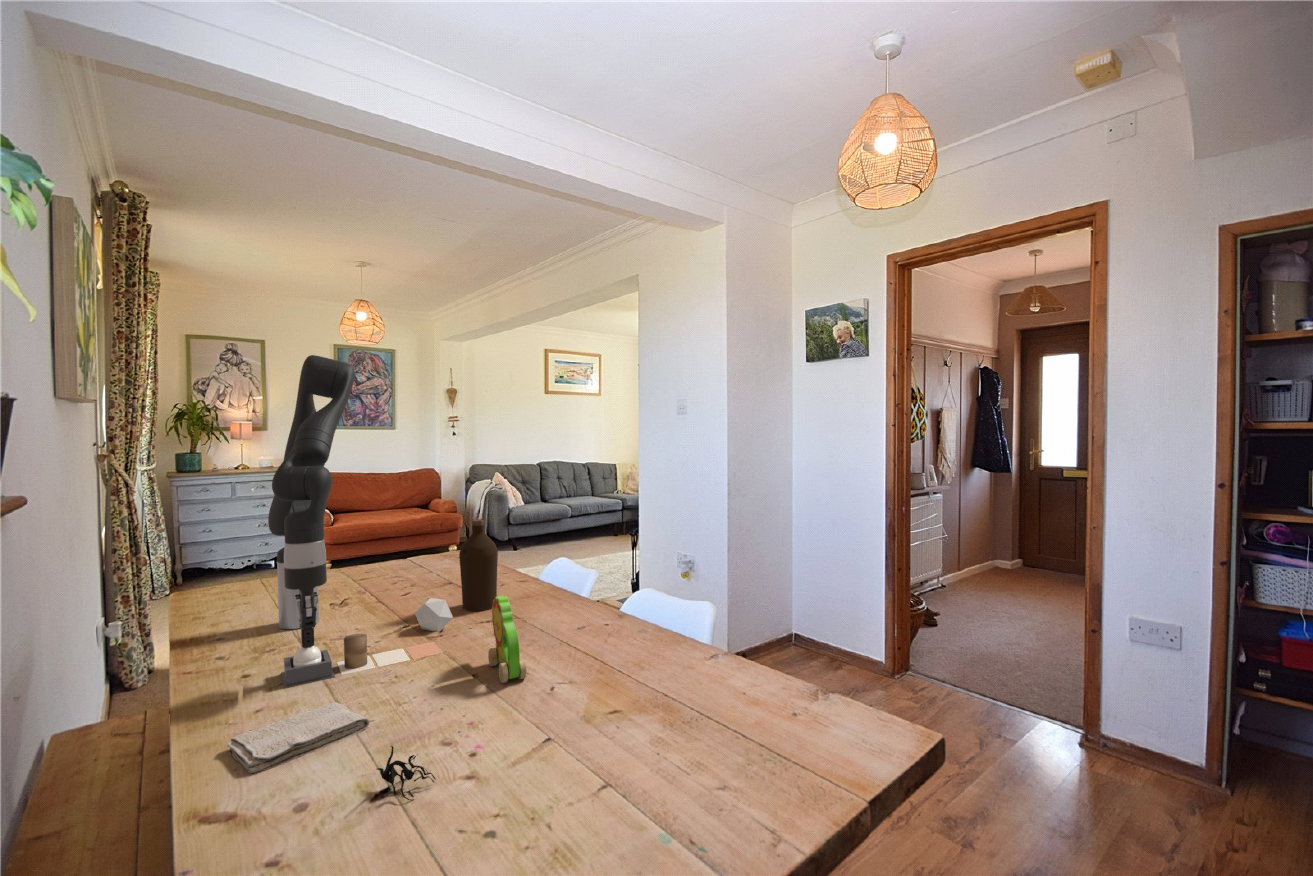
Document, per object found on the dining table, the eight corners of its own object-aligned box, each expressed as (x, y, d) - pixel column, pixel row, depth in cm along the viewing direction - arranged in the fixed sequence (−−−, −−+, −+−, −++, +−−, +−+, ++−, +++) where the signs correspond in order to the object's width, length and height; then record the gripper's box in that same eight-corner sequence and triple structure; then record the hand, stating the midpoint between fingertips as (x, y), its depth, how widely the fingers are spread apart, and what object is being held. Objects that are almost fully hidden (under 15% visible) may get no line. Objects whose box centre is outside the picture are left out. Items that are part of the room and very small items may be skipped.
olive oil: (490, 612, 166) (488, 523, 166) (454, 612, 167) (452, 523, 167) (504, 601, 177) (502, 517, 176) (469, 600, 178) (467, 517, 177)
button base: (281, 677, 125) (280, 658, 125) (330, 666, 130) (329, 648, 130) (283, 692, 117) (282, 672, 117) (335, 680, 122) (334, 661, 122)
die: (459, 630, 154) (451, 595, 159) (446, 623, 147) (438, 587, 151) (429, 643, 153) (422, 608, 158) (414, 637, 146) (407, 600, 150)
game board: (332, 665, 130) (332, 661, 130) (436, 643, 143) (436, 640, 143) (338, 681, 122) (338, 677, 122) (447, 656, 135) (447, 652, 135)
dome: (292, 671, 124) (292, 645, 124) (320, 665, 127) (319, 639, 127) (294, 679, 120) (293, 652, 120) (322, 673, 123) (322, 646, 123)
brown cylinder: (343, 663, 129) (342, 636, 129) (365, 659, 132) (364, 632, 131) (346, 670, 125) (345, 642, 125) (368, 665, 128) (368, 637, 128)
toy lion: (528, 681, 121) (526, 606, 121) (501, 687, 118) (499, 611, 118) (509, 655, 135) (508, 588, 135) (485, 659, 133) (483, 591, 132)
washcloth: (223, 755, 96) (222, 736, 96) (338, 711, 110) (338, 694, 110) (251, 780, 89) (250, 760, 89) (370, 730, 103) (370, 713, 103)
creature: (439, 777, 90) (387, 769, 89) (447, 743, 90) (394, 734, 89) (425, 809, 82) (367, 801, 82) (432, 772, 82) (375, 763, 82)
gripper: (329, 566, 120) (332, 651, 120) (322, 554, 131) (325, 633, 131) (285, 571, 115) (288, 660, 116) (282, 559, 126) (285, 641, 127)
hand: (307, 646), depth 123 cm, fingers closed
